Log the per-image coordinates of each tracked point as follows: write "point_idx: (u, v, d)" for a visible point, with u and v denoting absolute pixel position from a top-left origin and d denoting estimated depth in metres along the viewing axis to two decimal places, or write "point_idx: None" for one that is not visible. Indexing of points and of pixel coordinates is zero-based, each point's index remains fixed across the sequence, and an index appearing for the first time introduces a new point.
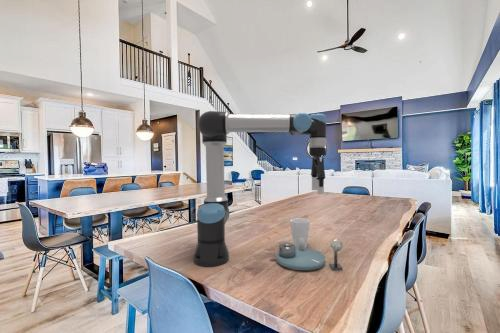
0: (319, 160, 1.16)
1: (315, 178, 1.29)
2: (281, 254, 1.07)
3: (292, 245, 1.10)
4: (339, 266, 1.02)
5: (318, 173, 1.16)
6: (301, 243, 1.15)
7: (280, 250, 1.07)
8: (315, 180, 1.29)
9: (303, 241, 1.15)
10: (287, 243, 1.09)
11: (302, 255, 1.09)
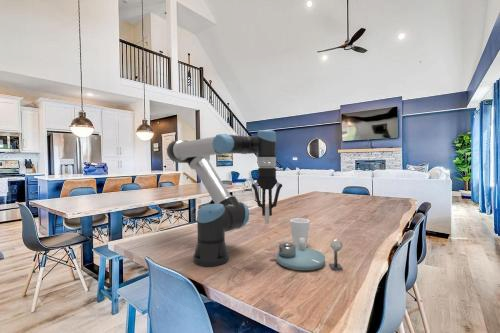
0: None
1: None
2: (281, 254, 1.07)
3: (292, 245, 1.10)
4: (339, 266, 1.02)
5: None
6: (301, 243, 1.15)
7: (280, 250, 1.07)
8: None
9: (303, 241, 1.15)
10: (287, 243, 1.09)
11: (302, 255, 1.09)
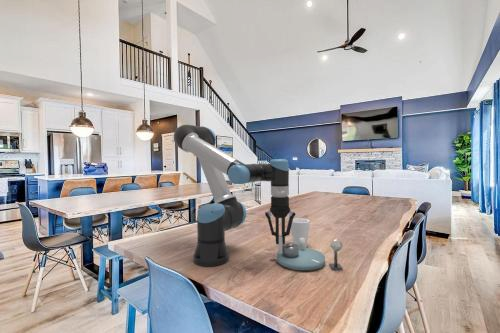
0: None
1: None
2: (284, 254, 1.07)
3: (295, 245, 1.10)
4: (339, 266, 1.02)
5: None
6: (301, 243, 1.15)
7: (283, 250, 1.08)
8: None
9: (303, 241, 1.15)
10: (290, 243, 1.09)
11: (302, 255, 1.09)
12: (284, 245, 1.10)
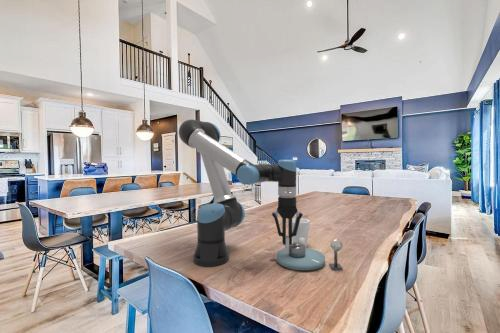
0: None
1: None
2: (291, 254, 1.07)
3: (302, 245, 1.10)
4: (339, 266, 1.02)
5: (282, 229, 1.10)
6: (301, 243, 1.15)
7: (290, 250, 1.08)
8: None
9: (303, 241, 1.15)
10: (297, 243, 1.09)
11: None
12: (291, 245, 1.10)
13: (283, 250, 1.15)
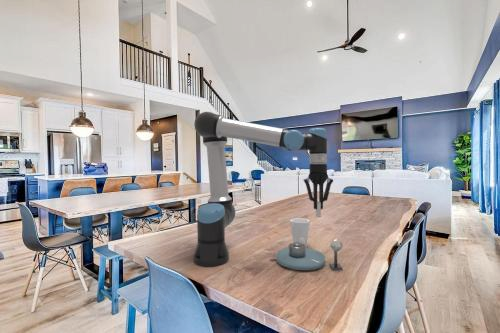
0: None
1: None
2: (291, 254, 1.07)
3: (302, 245, 1.10)
4: (339, 266, 1.02)
5: (313, 195, 1.16)
6: (301, 243, 1.15)
7: (290, 250, 1.08)
8: None
9: (303, 241, 1.15)
10: (297, 243, 1.09)
11: None
12: (291, 245, 1.10)
13: (283, 250, 1.15)
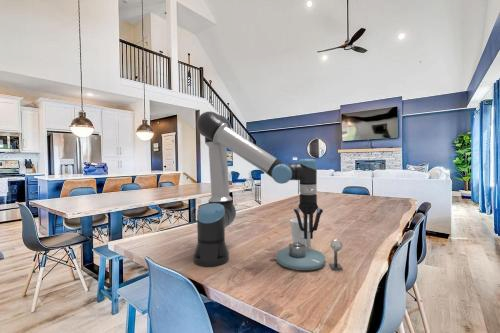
0: None
1: None
2: (291, 254, 1.07)
3: (302, 245, 1.10)
4: (339, 266, 1.02)
5: None
6: (301, 243, 1.15)
7: (290, 250, 1.08)
8: None
9: (303, 241, 1.15)
10: (297, 243, 1.09)
11: None
12: (291, 245, 1.10)
13: (283, 250, 1.15)
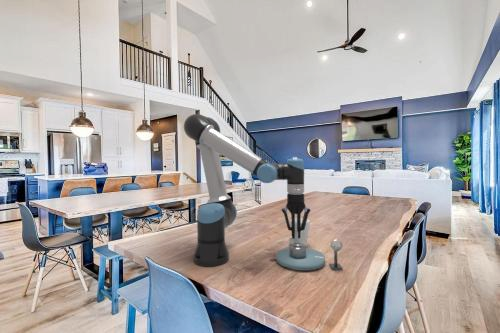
0: None
1: None
2: (297, 256, 1.05)
3: None
4: (339, 266, 1.02)
5: (291, 224, 1.17)
6: (292, 243, 1.15)
7: (295, 252, 1.05)
8: None
9: (294, 241, 1.15)
10: (297, 243, 1.08)
11: None
12: (292, 247, 1.07)
13: (279, 254, 1.10)
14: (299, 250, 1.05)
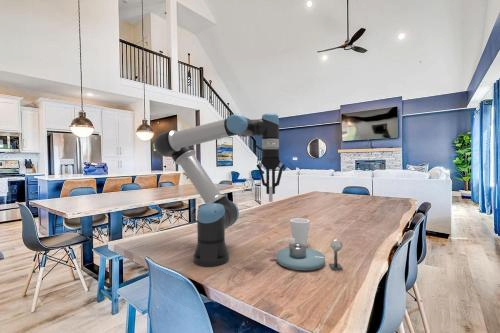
0: None
1: None
2: (297, 256, 1.05)
3: None
4: (339, 266, 1.02)
5: None
6: (292, 243, 1.15)
7: (295, 252, 1.05)
8: None
9: (294, 241, 1.15)
10: (297, 243, 1.08)
11: None
12: (292, 247, 1.07)
13: (279, 254, 1.10)
14: (299, 250, 1.05)
